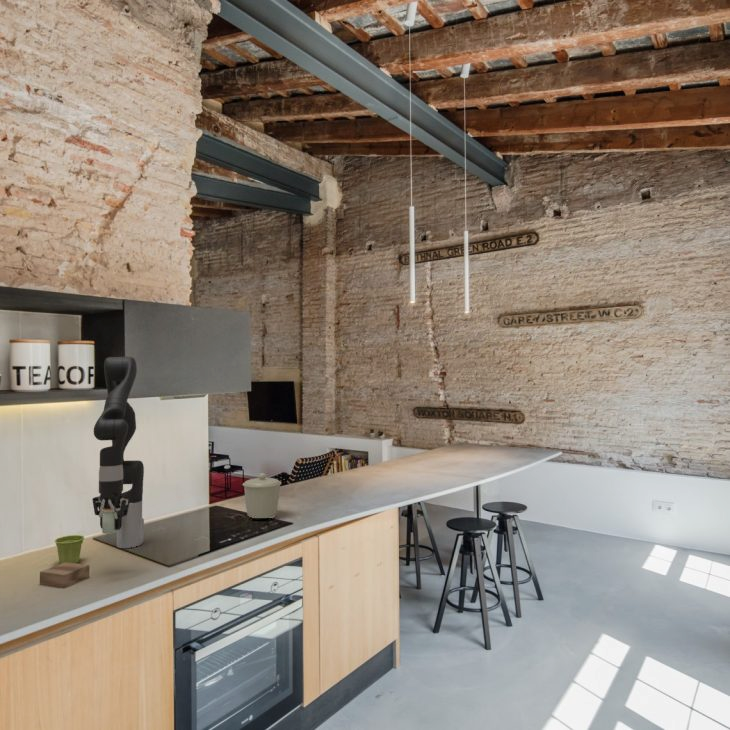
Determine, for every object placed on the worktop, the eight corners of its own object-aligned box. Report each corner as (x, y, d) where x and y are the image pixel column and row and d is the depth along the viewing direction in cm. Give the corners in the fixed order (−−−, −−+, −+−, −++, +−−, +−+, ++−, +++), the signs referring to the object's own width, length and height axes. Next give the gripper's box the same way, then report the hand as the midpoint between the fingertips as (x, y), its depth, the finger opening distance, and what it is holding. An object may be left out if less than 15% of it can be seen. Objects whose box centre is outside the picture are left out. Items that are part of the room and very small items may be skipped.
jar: (110, 528, 189) (110, 505, 189) (123, 529, 187) (123, 506, 187) (98, 532, 184) (98, 509, 184) (111, 534, 182) (111, 510, 182)
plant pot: (88, 558, 201) (89, 534, 201) (76, 567, 191) (76, 542, 191) (62, 559, 200) (63, 535, 200) (48, 567, 191) (49, 542, 191)
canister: (254, 525, 246) (254, 478, 247) (235, 517, 260) (235, 473, 260) (288, 518, 258) (288, 473, 259) (268, 511, 272) (268, 468, 272)
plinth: (65, 574, 185) (65, 562, 185) (89, 577, 181) (89, 565, 182) (39, 584, 175) (39, 571, 175) (63, 588, 172) (64, 575, 172)
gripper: (136, 477, 187) (136, 527, 187) (102, 475, 192) (102, 524, 191) (120, 481, 180) (119, 533, 180) (85, 479, 184) (85, 529, 184)
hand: (110, 528), depth 185 cm, fingers closed on jar, 5 cm apart
